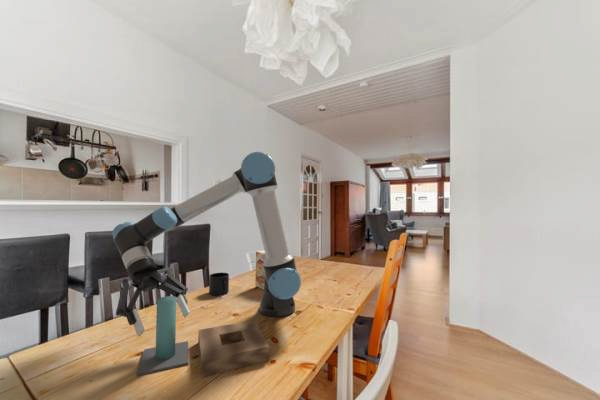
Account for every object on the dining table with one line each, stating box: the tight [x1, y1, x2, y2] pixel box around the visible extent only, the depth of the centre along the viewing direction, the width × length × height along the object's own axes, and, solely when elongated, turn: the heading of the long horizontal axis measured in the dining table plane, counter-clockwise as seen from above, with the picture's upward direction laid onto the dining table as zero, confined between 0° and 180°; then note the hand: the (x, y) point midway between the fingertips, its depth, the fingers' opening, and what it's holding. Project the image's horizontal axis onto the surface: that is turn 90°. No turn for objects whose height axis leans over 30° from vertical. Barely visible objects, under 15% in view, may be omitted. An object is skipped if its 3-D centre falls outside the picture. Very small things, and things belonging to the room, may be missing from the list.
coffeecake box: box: [255, 249, 266, 290], centre depth 135 cm, size 15×7×20 cm, turn 50°
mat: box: [136, 340, 189, 377], centre depth 72 cm, size 12×12×1 cm
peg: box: [155, 295, 177, 361], centre depth 72 cm, size 5×5×16 cm
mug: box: [208, 272, 230, 297], centre depth 126 cm, size 9×12×9 cm
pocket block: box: [197, 319, 271, 378], centre depth 76 cm, size 18×18×4 cm
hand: (166, 323), depth 72 cm, fingers open, 13 cm apart
